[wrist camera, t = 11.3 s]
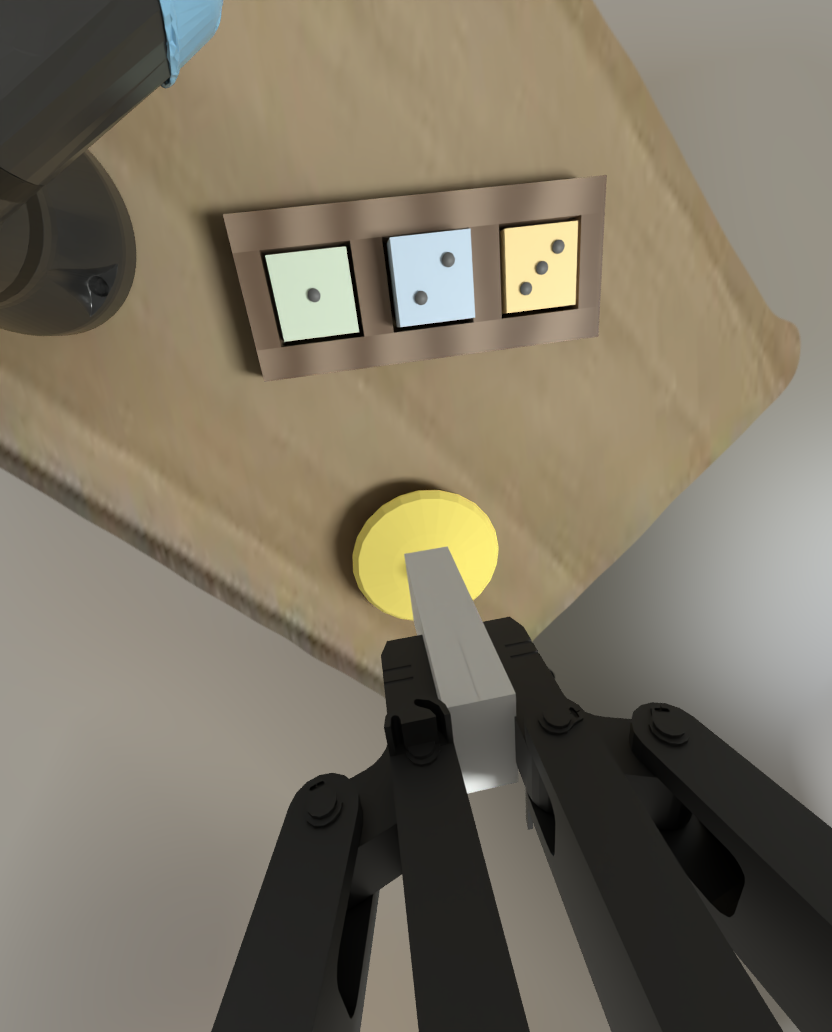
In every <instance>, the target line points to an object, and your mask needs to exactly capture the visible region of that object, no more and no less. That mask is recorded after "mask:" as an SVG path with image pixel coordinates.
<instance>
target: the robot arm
mask: <svg viewBox="0 0 832 1032" xmlns="http://www.w3.org/2000/svg"><path fill="white" fill-rule="evenodd" d="M222 5H223V0H0V328H2V329H5V330H8V331H12V332H16V333H21V334H27V335H35V336H63V335H73V334H78V333H82V332H85V331H88V330H91V329H93V328H96V327H97V326H99V325H101V324H103V323H104V322H106V321H107V320H108V319H109V318H111V317H112V316H113V315H114V314H115V313H116V312H117V311H118V310H119V308H120V307H121V306H122V304H123V303H124V301H125V299H126V298H127V296H128V294H129V291H130V289H131V286H132V283H133V279H134V275H135V268H136V244H135V237H134V232H133V227H132V223H131V220H130V217H129V214H128V211H127V208H126V206H125V204H124V201H123V199H122V197H121V195H120V193H119V191H118V189H117V188H116V186H115V184H114V182H113V181H112V179H111V178H110V176H109V175H108V173H107V172H106V170H105V169H104V168H103V166H102V165H101V164H100V163H99V161H98V160H97V159H96V158H95V157H94V156H93V154H92V153H91V152H90V151H89V150H88V148H89V147H90V146H91V145H93V144H94V143H95V142H96V141H97V140H98V139H99V138H101V137H102V136H103V135H104V134H105V133H106V132H107V131H109V130H110V129H111V128H112V127H113V126H114V125H115V124H117V123H118V122H119V121H120V120H121V119H122V118H123V117H125V116H126V115H127V114H128V113H129V112H130V111H132V110H133V109H134V108H135V107H136V106H137V105H138V104H140V103H141V102H142V101H143V100H144V99H145V98H146V97H148V96H149V95H150V94H151V93H152V92H153V91H154V90H156V89H157V88H158V87H159V86H160V85H161V86H162V87H163V88H169V87H170V86H172V85H173V84H174V83H175V80H176V79H177V77H178V74H179V71H180V69H181V68H182V67H183V66H184V65H185V64H186V63H187V62H188V61H189V60H190V59H191V58H192V57H193V56H194V55H195V54H196V53H197V52H198V51H199V50H200V49H201V48H202V47H203V46H204V45H205V44H206V43H207V42H208V41H209V40H210V39H211V38H212V37H213V36H214V34H215V32H216V30H217V29H218V27H219V24H220V19H221V10H222ZM404 557H405V564H406V571H407V577H408V584H409V591H410V598H411V605H412V612H413V619H414V623H415V628H416V632H417V636H412V637H407V638H402V639H397V640H391V641H387V643H386V645H385V647H384V650H383V652H382V654H381V660H382V669H383V678H384V688H385V697H386V707H387V715H386V717H385V724H384V729H385V734H386V739H387V747H386V750H385V751H384V753H383V754H382V756H381V757H380V758H379V759H378V760H377V762H376V763H375V764H373V765H372V766H371V767H369V768H368V769H367V770H365V771H363V772H361V773H359V774H357V775H356V776H354V777H352V778H350V779H348V778H347V777H346V776H344V775H340V774H336V773H329V774H324V775H319V776H317V777H315V778H314V779H312V780H310V781H308V782H307V783H306V784H305V785H304V786H303V787H302V788H301V789H300V790H299V791H298V792H297V793H296V794H295V796H294V798H293V800H292V802H291V804H290V806H289V808H288V811H287V814H286V817H285V820H284V823H283V826H282V829H281V832H280V835H279V837H278V840H277V843H276V846H275V849H274V852H273V855H272V857H271V860H270V863H269V866H268V869H267V872H266V875H265V878H264V881H263V884H262V886H261V889H260V892H259V895H258V898H257V901H256V904H255V907H254V910H253V912H252V915H251V918H250V921H249V924H248V927H247V930H246V933H245V936H244V939H243V941H242V944H241V947H240V950H239V953H238V956H237V959H236V962H235V965H234V967H233V970H232V973H231V976H230V979H229V982H228V985H227V988H226V991H225V994H224V996H223V999H222V1003H221V1005H220V1008H219V1011H218V1014H217V1017H216V1020H215V1023H214V1026H213V1028H212V1031H211V1032H360V1027H361V1020H362V1012H363V1006H364V999H365V991H366V984H367V976H368V970H369V962H370V955H371V948H372V941H373V933H374V926H375V919H376V912H377V905H378V897H379V890H380V889H381V888H382V887H384V886H385V885H387V884H388V883H390V882H391V881H393V880H394V879H396V878H397V877H399V876H400V875H401V874H402V875H403V885H404V895H405V903H406V913H407V923H408V932H409V942H410V952H411V961H412V971H413V980H414V990H415V998H416V1009H417V1019H418V1028H419V1032H530V1031H529V1027H528V1023H527V1020H526V1016H525V1012H524V1008H523V1004H522V1001H521V997H520V993H519V989H518V985H517V982H516V978H515V974H514V970H513V966H512V963H511V958H510V955H509V951H508V947H507V943H506V939H505V936H504V932H503V928H502V924H501V920H500V917H499V913H498V909H497V905H496V902H495V897H494V894H493V890H492V886H491V882H490V879H489V875H488V871H487V867H486V863H485V859H484V856H483V852H482V848H481V844H480V840H479V837H478V833H477V829H476V825H475V821H474V817H473V814H472V810H471V806H470V802H469V799H468V795H467V793H472V792H476V791H481V790H485V789H489V788H494V787H498V786H503V785H507V784H512V783H516V782H518V769H519V772H520V774H521V777H522V779H523V782H524V785H525V787H526V821H527V827H528V829H532V828H533V823H534V826H535V829H536V831H537V834H538V837H539V839H540V842H541V845H542V847H543V850H544V853H545V855H546V858H547V861H548V863H549V866H550V869H551V871H552V874H553V877H554V879H555V882H556V885H557V887H558V890H559V893H560V895H561V898H562V901H563V903H564V906H565V909H566V912H567V914H568V917H569V919H570V922H571V925H572V927H573V930H574V933H575V935H576V938H577V941H578V943H579V946H580V949H581V952H582V954H583V957H584V960H585V962H586V965H587V968H588V970H589V973H590V975H591V978H592V981H593V984H594V986H595V989H596V992H597V994H598V997H599V1000H600V1002H601V1005H602V1008H603V1010H604V1012H605V1016H606V1018H607V1021H608V1024H609V1026H610V1029H611V1031H612V1032H783V1031H782V1029H781V1027H780V1026H779V1024H778V1022H777V1021H776V1019H775V1018H774V1016H773V1014H772V1013H771V1011H770V1009H769V1008H768V1006H767V1005H766V1003H765V1002H764V1000H763V998H762V997H761V995H760V993H759V992H758V990H757V988H756V987H755V985H754V984H753V982H752V980H751V979H750V977H749V975H748V974H747V972H746V971H745V969H744V968H743V966H742V964H741V963H740V961H739V959H738V958H737V956H736V954H737V955H738V957H739V958H740V959H741V960H742V962H743V963H744V964H745V965H746V966H747V967H748V969H749V970H750V971H751V972H752V974H753V975H754V976H755V977H756V978H757V980H758V981H759V982H760V983H761V984H762V986H763V987H764V988H765V989H766V990H767V992H768V993H769V994H770V995H771V996H772V997H773V999H774V1000H775V1001H776V1002H777V1004H778V1005H779V1006H780V1007H781V1008H782V1010H783V1011H784V1012H785V1013H786V1014H787V1016H788V1017H789V1018H790V1019H791V1020H792V1022H793V1023H794V1024H795V1025H796V1026H797V1028H798V1029H799V1030H800V1031H801V1032H832V828H831V827H830V826H829V825H827V824H826V823H825V822H823V821H822V820H821V819H820V818H819V817H817V816H816V815H815V814H814V813H812V812H811V811H810V810H809V809H807V808H806V807H805V806H804V805H802V804H801V803H800V802H799V801H798V800H796V799H795V798H793V797H792V796H791V795H790V794H789V793H788V792H786V791H785V790H784V789H782V788H781V787H780V786H779V785H778V784H776V783H775V782H774V781H773V780H771V779H770V778H769V777H768V776H766V775H765V774H764V773H763V772H761V771H760V770H759V769H758V768H756V767H755V766H754V765H753V764H751V763H750V762H749V761H748V760H746V759H745V758H744V757H743V756H742V755H740V754H739V753H737V752H736V751H735V750H734V749H733V748H731V747H730V746H729V745H728V744H727V743H725V742H724V741H723V740H722V739H720V738H719V737H718V736H717V735H715V734H714V733H713V732H712V731H710V730H709V729H708V728H707V727H705V726H704V725H703V724H702V723H700V722H699V721H698V720H697V719H695V718H694V717H693V716H691V715H690V714H688V713H686V712H685V711H683V710H682V709H680V708H677V707H675V706H672V705H668V704H666V703H648V704H644V705H641V706H640V707H639V708H637V709H636V710H635V711H634V712H633V716H632V719H623V718H610V717H601V716H595V715H592V714H590V713H587V712H585V711H584V710H583V709H582V708H581V707H580V706H579V705H578V704H576V703H574V702H573V701H571V700H569V699H567V698H566V697H565V696H564V694H563V693H562V691H561V689H560V688H559V686H558V684H557V683H556V681H555V679H554V678H553V676H552V674H551V672H550V671H549V669H548V667H547V666H546V664H545V662H544V661H543V659H542V657H541V656H540V654H538V650H537V649H536V647H535V645H534V644H533V643H532V641H531V639H530V637H529V635H528V634H527V632H526V630H525V628H524V627H523V626H522V625H520V624H519V623H518V622H516V621H515V620H513V619H512V618H511V617H506V618H501V619H495V620H490V621H485V622H482V620H481V617H480V615H479V613H478V611H477V609H476V607H475V604H474V602H473V600H472V598H471V596H470V594H469V592H468V589H467V587H466V585H465V583H464V581H463V579H462V576H461V574H460V572H459V570H458V568H457V566H456V563H455V561H454V559H453V557H452V555H451V553H450V550H449V548H448V546H447V547H441V548H435V549H429V550H424V551H418V552H412V553H406V554H404ZM734 952H735V953H736V954H735V953H734Z"/></svg>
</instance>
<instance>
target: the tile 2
mask: <svg viewBox="0 0 832 1032" xmlns="http://www.w3.org/2000/svg"><path fill="white" fill-rule="evenodd" d="M386 245H387V253H388V261H389V269H390V277H391V285H392V294H393V302H394V310H395V318H396V326H397V327H406V326H414V325H421V324H429V323H437V322H445V321H453V320H460V319H468V318H475V304H474V285H473V267H472V249H471V230H470V229H462V230H453V231H444V232H435V233H426V234H417V235H408V236H399V237H390V238H389V240H388V242H387V244H386Z"/></svg>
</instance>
